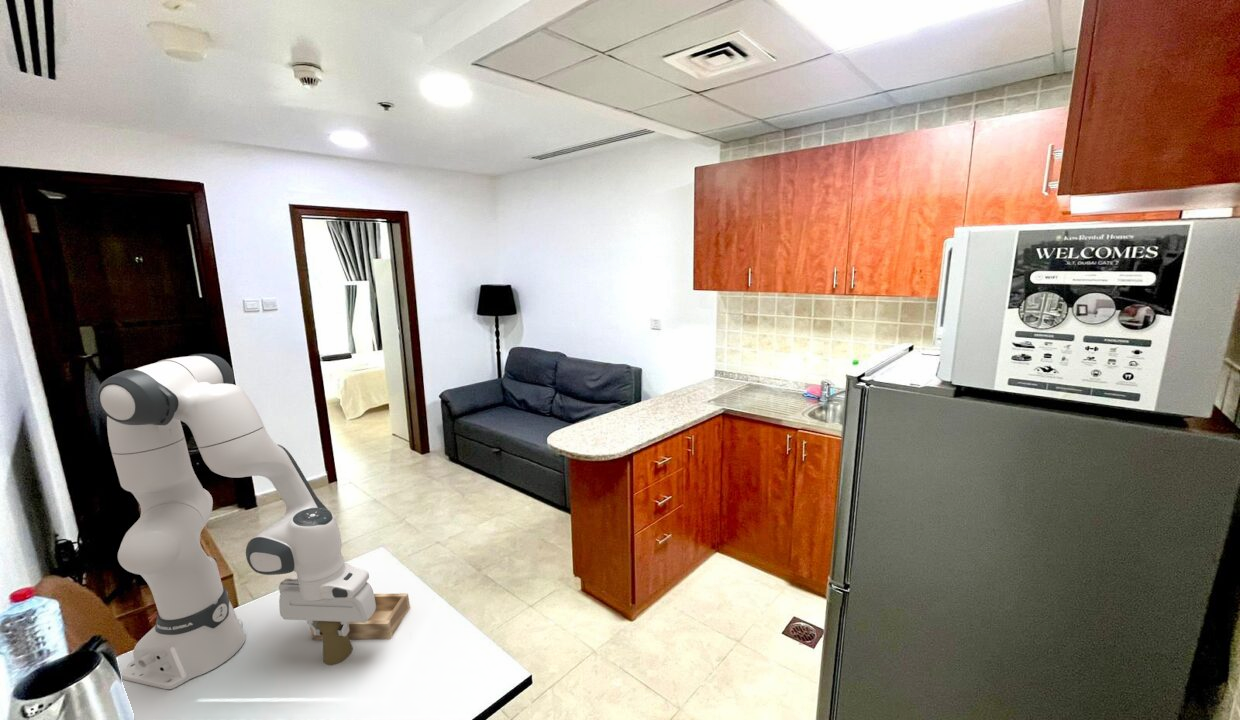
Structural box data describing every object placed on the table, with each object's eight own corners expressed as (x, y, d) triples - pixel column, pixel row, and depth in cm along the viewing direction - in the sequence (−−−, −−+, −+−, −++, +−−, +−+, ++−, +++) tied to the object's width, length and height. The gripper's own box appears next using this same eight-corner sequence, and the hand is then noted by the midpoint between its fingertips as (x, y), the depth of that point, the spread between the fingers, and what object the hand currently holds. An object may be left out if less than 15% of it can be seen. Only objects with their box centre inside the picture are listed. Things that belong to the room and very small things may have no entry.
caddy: (313, 642, 113) (309, 624, 112) (338, 610, 122) (335, 594, 121) (391, 641, 112) (387, 623, 111) (410, 610, 122) (407, 593, 121)
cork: (339, 668, 105) (330, 626, 102) (316, 665, 106) (307, 623, 104) (359, 647, 110) (351, 606, 108) (337, 644, 112) (329, 603, 109)
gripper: (266, 588, 101) (277, 643, 104) (358, 591, 100) (367, 646, 103) (288, 569, 107) (298, 621, 110) (375, 572, 106) (382, 624, 109)
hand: (332, 633), depth 107 cm, fingers open, 4 cm apart
